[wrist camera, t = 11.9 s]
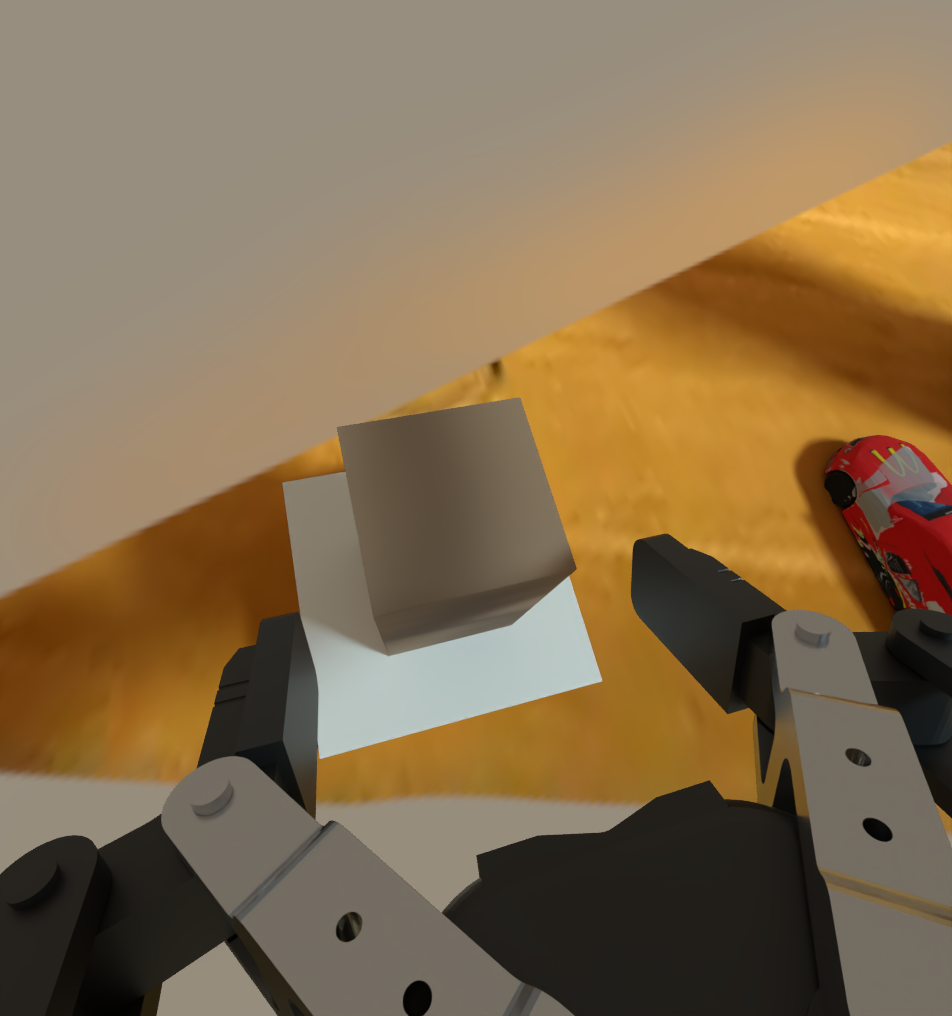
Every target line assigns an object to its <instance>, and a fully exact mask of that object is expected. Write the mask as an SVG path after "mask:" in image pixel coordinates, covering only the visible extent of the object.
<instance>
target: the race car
mask: <svg viewBox="0 0 952 1016" xmlns="http://www.w3.org/2000/svg"><path fill="white" fill-rule="evenodd" d="M839 470H841V471H839ZM835 471H838V472H835ZM831 472H835V473H832V474H830V475H829V476H828V477H827V478H826V480H825V483H824V487H825V489H826V490H827V491H828V492H829V494H830V496H831V498H832V502H833V503H834V504H836V505H839V506H847V505H851V504H853V505H851V506H850V507H848V508H847V509H845V510H843V511H841V512H842V513H843V515H844V517H845V519H846V521H847V523H848V524H849V526H850V528H851V530H852V532H853V533H854V535H855V537H856V539H857V541H858V543H859V544H860V546H861V548H862V550H863V552H864V553H865V555H866V557H867V559H868V561H869V563H870V564H871V566H872V568H873V570H874V572H875V573H876V575H877V577H878V579H879V581H880V583H881V584H882V586H883V588H884V590H885V592H886V593H887V595H888V597H889V599H890V601H891V603H892V604H893V606H894V608H895V610H896V611H897V610H900V609H903V608H912V609H916V608H917V609H928V610H933V611H938V612H942V613H945V614H949V615H951V616H952V485H951V484H950V483H949V482H948V480H947V479H946V478H945V477H944V476H943V474H942V473H941V472H940V471H939V470H938V469H937V468H936V466H935V465H934V464H933V463H932V462H931V461H930V460H929V459H928V457H927V456H926V455H925V454H924V453H922V452H921V451H920V450H919V449H917V448H916V447H915V446H914V445H912V444H910V443H907V442H905V441H901V440H898V439H895V438H892V437H889V436H881V435H876V436H868V437H862V438H857V439H854V440H853V441H851V442H849V443H847V444H846V445H844V446H843V447H842V448H840V449H839V450H838V451H837V452H836V453H835V454H834V455H833V457H832V458H831V460H830V461H829V463H828V465H827V468H826V471H825V474H827V473H831Z"/></svg>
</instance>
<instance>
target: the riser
mask: <svg viewBox="0 0 952 1016" xmlns="http://www.w3.org/2000/svg"><path fill="white" fill-rule="evenodd" d="M282 484H283V491H284V499H285V506H286V513H287V521H288V528H289V535H290V543H291V550H292V557H293V565H294V572H295V579H296V586H297V594H298V601H299V608H300V616H301V620H302V624H303V627H304V631H305V634H306V638H307V641H308V645H309V648H310V652H311V655H312V659H313V663H314V666H315V670H316V675H317V682H318V693H319V700H318V739H317V740H318V747H319V755H320V759H321V758H325V757H329V756H332V755H336V754H340V753H343V752H347V751H350V750H354V749H358V748H361V747H365V746H369V745H372V744H376V743H380V742H383V741H387V740H390V739H394V738H398V737H401V736H405V735H409V734H412V733H416V732H419V731H423V730H427V729H430V728H434V727H438V726H441V725H445V724H448V723H452V722H456V721H459V720H463V719H467V718H470V717H474V716H477V715H481V714H485V713H488V712H492V711H496V710H499V709H503V708H507V707H510V706H514V705H517V704H521V703H525V702H528V701H532V700H536V699H539V698H543V697H546V696H550V695H554V694H557V693H561V692H565V691H568V690H572V689H575V688H579V687H583V686H586V685H590V684H594V683H597V682H601V681H602V679H601V675H600V672H599V669H598V666H597V663H596V660H595V657H594V653H593V650H592V647H591V644H590V641H589V638H588V634H587V631H586V628H585V625H584V622H583V619H582V615H581V612H580V609H579V606H578V603H577V600H576V596H575V593H574V590H573V587H572V584H571V581H570V577H569V576H568V577H567V578H566V579H565V580H564V581H562V582H561V583H560V584H559V585H558V586H557V587H555V588H554V589H553V590H552V591H551V592H550V593H548V594H547V595H546V596H545V597H544V598H543V599H541V600H540V601H539V602H538V603H537V604H536V605H534V606H533V607H532V608H531V609H530V610H529V611H527V612H526V613H525V614H524V615H523V616H522V617H521V618H519V619H518V620H517V621H516V622H515V623H514V624H512V625H511V626H507V627H503V628H499V629H495V630H491V631H487V632H483V633H479V634H475V635H471V636H467V637H463V638H459V639H455V640H451V641H447V642H443V643H439V644H435V645H431V646H427V647H423V648H419V649H415V650H411V651H408V652H404V653H400V654H396V655H392V656H389V655H388V653H387V650H386V648H385V645H384V643H383V640H382V638H381V636H380V633H379V631H378V628H377V626H376V623H375V621H374V618H373V614H372V609H371V603H370V598H369V593H368V588H367V582H366V577H365V572H364V567H363V562H362V556H361V551H360V546H359V541H358V535H357V530H356V525H355V520H354V514H353V509H352V504H351V499H350V493H349V488H348V483H347V478H346V472H340V473H334V474H328V475H323V476H317V477H311V478H305V479H300V480H294V481H288V482H282Z"/></svg>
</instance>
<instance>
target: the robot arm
mask: <svg viewBox="0 0 952 1016" xmlns="http://www.w3.org/2000/svg"><path fill="white" fill-rule="evenodd" d="M631 598H632V603H633V606H634V609H635V611H636V613H637V615H638V616H639V618H640V619H641V620H642V621H643V622H644V623H645V624H646V625H647V626H648V628H649V629H650V630H651V631H652V632H653V633H654V634H655V635H656V636H657V637H658V638H659V640H660V641H661V642H662V643H663V644H664V645H665V646H666V647H667V648H668V649H669V651H670V652H671V653H672V654H673V655H674V656H675V657H676V658H677V659H678V660H679V661H680V663H681V664H682V665H683V666H684V667H685V668H686V669H687V670H688V671H689V672H690V674H691V675H692V676H693V677H694V678H695V679H696V680H697V681H698V682H699V683H700V684H701V686H702V687H703V688H704V689H705V690H706V691H707V692H708V693H709V694H710V695H711V696H712V698H713V699H714V700H715V701H716V702H717V703H718V704H719V705H720V706H721V707H722V709H723V710H724V711H725V712H726V713H727V714H729V713H733V712H736V711H740V710H743V709H746V708H750V709H751V710H752V711H753V712H754V713H755V715H754V720H753V739H754V754H755V770H756V785H757V803H754V802H749V801H743V800H730V799H723V797H722V796H721V795H720V794H719V792H718V791H717V790H716V788H715V787H714V786H713V784H712V783H711V782H710V780H709V781H706V782H703V783H700V784H697V785H694V786H691V787H687V788H684V789H681V790H678V791H675V792H672V793H669V794H666V795H663V796H660V797H656V798H655V799H653V800H652V801H651V802H649V803H648V804H646V805H645V806H643V807H642V808H641V809H639V810H638V811H636V812H635V813H634V814H632V815H631V816H629V817H628V818H626V819H625V820H624V821H622V822H621V823H620V824H618V825H616V826H615V827H614V828H612V829H610V830H609V831H606V832H601V833H584V834H563V835H542V836H535V837H532V838H529V839H526V840H523V841H520V842H517V843H514V844H510V845H507V846H504V847H501V848H498V849H495V850H492V851H489V852H486V853H483V854H479V855H477V863H478V870H479V877H480V878H479V879H477V880H476V881H474V882H473V883H472V884H470V885H469V886H467V887H466V888H465V889H464V890H463V891H462V892H461V893H459V894H458V896H456V897H455V898H454V899H453V900H452V901H451V902H450V904H449V905H448V906H447V907H446V908H445V909H444V910H443V912H442V913H441V912H440V911H439V910H438V909H436V908H435V907H434V906H433V905H432V904H431V903H430V902H429V901H427V900H426V899H425V898H424V897H423V896H422V895H421V894H420V893H418V892H417V891H416V890H415V889H414V888H413V887H412V886H411V885H409V884H408V883H407V882H406V881H405V880H404V879H403V878H402V877H400V876H399V875H398V874H397V873H396V872H395V871H394V870H393V869H391V868H390V867H389V866H388V865H387V864H386V863H385V862H383V861H382V860H381V859H380V858H379V857H378V856H377V855H376V854H374V853H373V852H372V851H371V850H370V849H369V848H367V846H365V845H364V844H363V843H362V842H361V841H360V840H359V839H358V838H356V837H355V836H354V835H353V834H352V833H351V832H350V831H348V830H347V829H346V828H345V827H344V826H342V825H341V824H339V823H338V822H335V821H329V822H328V823H327V824H326V825H325V826H322V825H321V824H319V823H318V822H317V821H316V820H315V817H316V816H315V814H316V778H317V739H318V700H319V693H318V682H317V675H316V670H315V666H314V663H313V659H312V655H311V652H310V648H309V645H308V641H307V638H306V634H305V631H304V627H303V624H302V620H301V617H300V615H299V613H298V612H295V613H290V614H285V615H281V616H276V617H272V618H267V619H262V621H261V623H260V628H259V633H258V638H257V643H256V645H253V646H249V647H244V648H240V649H238V650H237V652H236V653H235V654H234V655H233V657H232V658H231V659H230V661H229V662H228V663H227V664H226V666H225V667H224V669H223V673H222V676H221V680H220V684H219V691H217V695H216V699H215V702H214V704H215V707H213V710H212V713H211V717H210V721H209V725H208V728H207V732H206V736H205V739H204V743H203V747H202V750H201V754H200V758H199V761H198V765H197V769H195V770H194V771H192V772H191V773H190V774H189V775H187V776H186V777H185V778H184V779H183V780H182V781H181V782H180V783H179V784H178V785H177V786H176V787H175V788H174V789H173V791H172V792H171V793H170V795H169V797H168V798H167V800H166V802H165V805H164V807H163V810H162V814H160V815H159V816H157V817H156V818H154V819H153V820H151V821H150V822H148V823H146V824H145V825H143V826H141V827H139V828H137V829H135V830H133V831H132V832H130V833H128V834H126V835H124V836H122V837H121V838H118V839H117V840H115V841H113V842H111V843H109V844H107V845H105V846H103V847H101V848H100V849H97V848H96V846H95V845H94V843H93V842H92V841H91V840H90V839H88V838H86V837H83V836H75V835H74V836H65V837H61V838H57V839H55V840H52V841H49V842H46V843H44V844H42V845H40V846H38V847H36V848H35V849H33V850H31V851H30V852H28V853H26V854H25V855H23V856H22V857H21V858H19V859H18V860H17V861H15V862H14V863H13V864H11V865H10V866H9V867H8V868H7V869H5V870H4V871H3V872H2V873H1V874H0V1016H156V1014H157V1010H158V1004H159V999H160V993H161V988H162V983H163V982H164V981H165V980H167V979H168V978H170V977H171V976H173V975H174V974H176V973H177V972H179V971H180V970H182V969H183V968H185V967H186V966H188V965H189V964H191V963H192V962H194V961H195V960H197V959H198V958H200V957H201V956H203V955H204V954H206V953H207V952H209V951H210V950H212V949H213V948H215V947H216V946H218V945H219V944H220V943H222V942H223V941H224V942H225V943H226V945H227V946H228V947H229V949H230V950H231V952H232V953H233V954H234V956H235V957H236V958H237V960H238V961H239V963H240V964H241V966H242V967H243V968H244V970H245V971H246V973H247V974H248V975H249V977H250V978H251V980H252V981H253V982H254V983H255V985H256V986H257V987H258V989H259V991H260V992H261V993H262V995H263V996H264V998H265V999H266V1000H267V1002H268V1003H269V1005H270V1006H271V1007H272V1009H273V1010H274V1012H275V1013H276V1014H277V1016H952V848H951V845H950V842H949V839H948V837H947V834H946V831H945V829H944V826H943V824H942V821H941V818H940V816H939V813H938V810H937V808H936V805H935V803H936V804H937V805H938V806H939V807H940V808H941V809H942V810H943V811H945V812H946V813H947V814H948V815H949V816H950V817H951V818H952V616H951V615H949V614H945V613H942V612H938V611H933V610H928V609H917V608H916V609H904V610H901V611H898V612H896V613H895V614H894V615H893V617H892V620H891V624H890V627H889V630H888V632H851V630H850V629H848V628H847V627H846V626H845V625H843V624H842V623H841V622H839V621H837V620H835V619H833V618H831V617H829V616H826V615H823V614H820V613H816V612H811V611H804V610H790V611H786V610H785V609H783V608H782V607H781V606H779V605H778V604H777V603H775V602H774V601H772V600H771V599H770V598H768V597H767V596H766V595H764V594H763V593H761V592H760V591H759V590H757V589H756V588H755V587H753V586H752V585H751V584H749V583H748V582H746V581H745V580H741V577H740V576H738V575H737V574H735V573H734V572H733V571H729V570H728V568H727V567H726V566H724V565H723V564H722V563H720V562H719V561H718V560H716V559H715V558H713V557H712V556H709V555H707V554H704V553H702V552H699V551H696V550H694V549H688V548H687V547H685V546H684V545H683V544H681V543H680V542H679V541H677V540H676V539H675V538H673V537H672V536H671V535H669V534H661V535H657V536H652V537H647V538H643V539H638V540H636V542H635V543H634V546H633V559H632V581H631Z"/></svg>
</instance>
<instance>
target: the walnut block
mask: <svg viewBox="0 0 952 1016" xmlns="http://www.w3.org/2000/svg"><path fill="white" fill-rule="evenodd" d="M337 430H338V436H339V441H340V446H341V451H342V457H343V462H344V467H345V472H346V478H347V483H348V488H349V493H350V499H351V504H352V509H353V514H354V520H355V525H356V530H357V535H358V541H359V546H360V551H361V556H362V562H363V567H364V572H365V577H366V582H367V588H368V593H369V598H370V603H371V609H372V614H373V618H374V621H375V623H376V626H377V628H378V631H379V633H380V636H381V638H382V640H383V643H384V645H385V648H386V650H387V653H388V655H389V656H392V655H396V654H400V653H404V652H408V651H411V650H415V649H419V648H423V647H427V646H431V645H435V644H439V643H443V642H447V641H451V640H455V639H459V638H463V637H467V636H471V635H475V634H479V633H483V632H487V631H491V630H495V629H499V628H503V627H507V626H511V625H512V624H514V623H515V622H516V621H517V620H518V619H519V618H521V617H522V616H523V615H524V614H525V613H526V612H527V611H529V610H530V609H531V608H532V607H533V606H534V605H536V604H537V603H538V602H539V601H540V600H541V599H543V598H544V597H545V596H546V595H547V594H548V593H550V592H551V591H552V590H553V589H554V588H555V587H557V586H558V585H559V584H560V583H561V582H562V581H564V580H565V579H566V578H567V577H568V576H569V575H571V574H572V573H573V572H574V571H575V570H576V566H575V562H574V559H573V556H572V553H571V550H570V547H569V544H568V541H567V538H566V535H565V532H564V529H563V526H562V523H561V520H560V517H559V514H558V511H557V508H556V505H555V502H554V499H553V496H552V493H551V490H550V487H549V484H548V481H547V478H546V475H545V472H544V469H543V466H542V463H541V460H540V457H539V453H538V450H537V447H536V444H535V441H534V438H533V435H532V432H531V429H530V426H529V423H528V420H527V417H526V414H525V411H524V408H523V405H522V402H521V399H520V398H514V399H508V400H502V401H495V402H489V403H483V404H477V405H471V406H465V407H458V408H452V409H446V410H440V411H434V412H428V413H422V414H415V415H409V416H403V417H397V418H391V419H385V420H378V421H372V422H366V423H360V424H354V425H348V426H342V427H337Z"/></svg>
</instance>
